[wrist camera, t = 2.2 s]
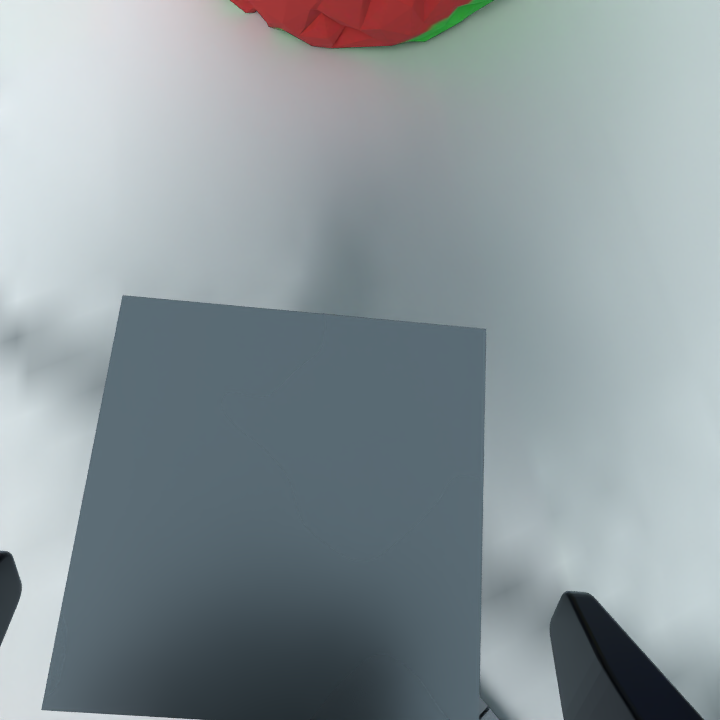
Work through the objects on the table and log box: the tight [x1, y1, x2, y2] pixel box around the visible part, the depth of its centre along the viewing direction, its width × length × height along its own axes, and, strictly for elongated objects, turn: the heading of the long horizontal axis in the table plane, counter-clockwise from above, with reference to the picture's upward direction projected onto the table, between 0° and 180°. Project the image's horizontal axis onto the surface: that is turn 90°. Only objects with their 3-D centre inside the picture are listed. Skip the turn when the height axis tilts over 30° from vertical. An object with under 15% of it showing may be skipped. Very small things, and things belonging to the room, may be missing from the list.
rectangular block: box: [41, 295, 486, 720], centre depth 12 cm, size 4×4×13 cm
